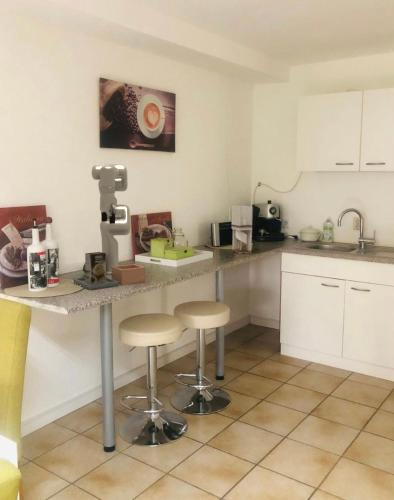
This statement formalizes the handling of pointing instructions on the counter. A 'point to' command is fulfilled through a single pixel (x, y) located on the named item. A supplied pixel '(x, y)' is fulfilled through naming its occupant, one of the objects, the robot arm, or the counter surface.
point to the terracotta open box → (128, 274)
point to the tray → (97, 286)
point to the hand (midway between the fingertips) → (108, 222)
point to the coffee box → (95, 268)
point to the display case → (242, 228)
